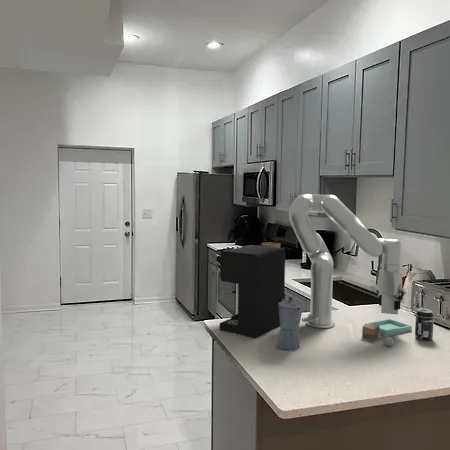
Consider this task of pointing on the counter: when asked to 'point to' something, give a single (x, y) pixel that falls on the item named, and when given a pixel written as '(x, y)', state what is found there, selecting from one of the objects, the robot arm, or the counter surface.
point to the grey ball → (388, 341)
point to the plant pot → (271, 244)
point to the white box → (388, 304)
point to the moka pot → (289, 324)
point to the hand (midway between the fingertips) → (389, 307)
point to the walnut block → (370, 332)
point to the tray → (391, 327)
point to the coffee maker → (254, 288)
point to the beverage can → (424, 324)
